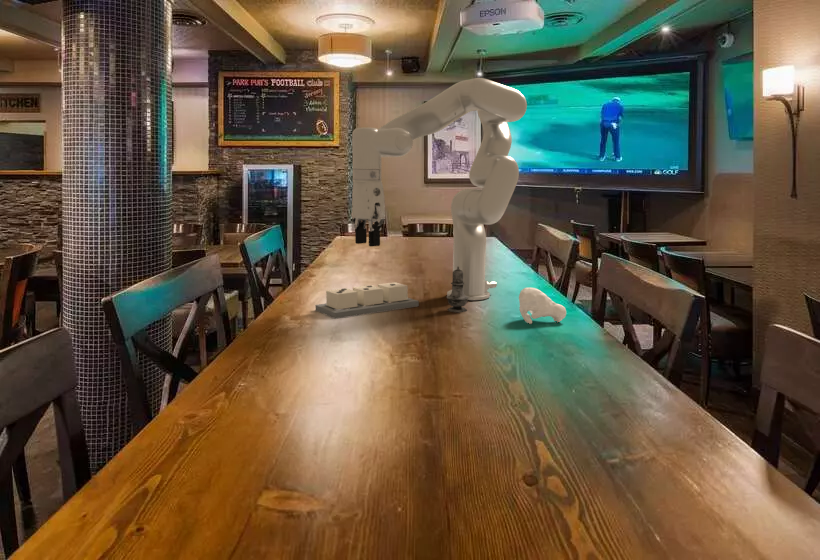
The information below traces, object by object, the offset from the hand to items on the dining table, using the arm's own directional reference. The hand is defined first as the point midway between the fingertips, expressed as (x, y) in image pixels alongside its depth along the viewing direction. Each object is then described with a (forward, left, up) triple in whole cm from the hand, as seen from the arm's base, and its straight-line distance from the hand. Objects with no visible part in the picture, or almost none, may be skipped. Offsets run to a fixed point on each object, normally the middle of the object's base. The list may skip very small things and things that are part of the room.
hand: (367, 244), depth 165 cm
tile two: (0, 0, -16) cm, 16 cm away
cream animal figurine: (-29, +37, -18) cm, 50 cm away
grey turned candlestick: (-19, +15, -18) cm, 30 cm away
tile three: (+8, 0, -16) cm, 18 cm away
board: (0, 0, -18) cm, 18 cm away
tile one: (-8, 0, -16) cm, 18 cm away
